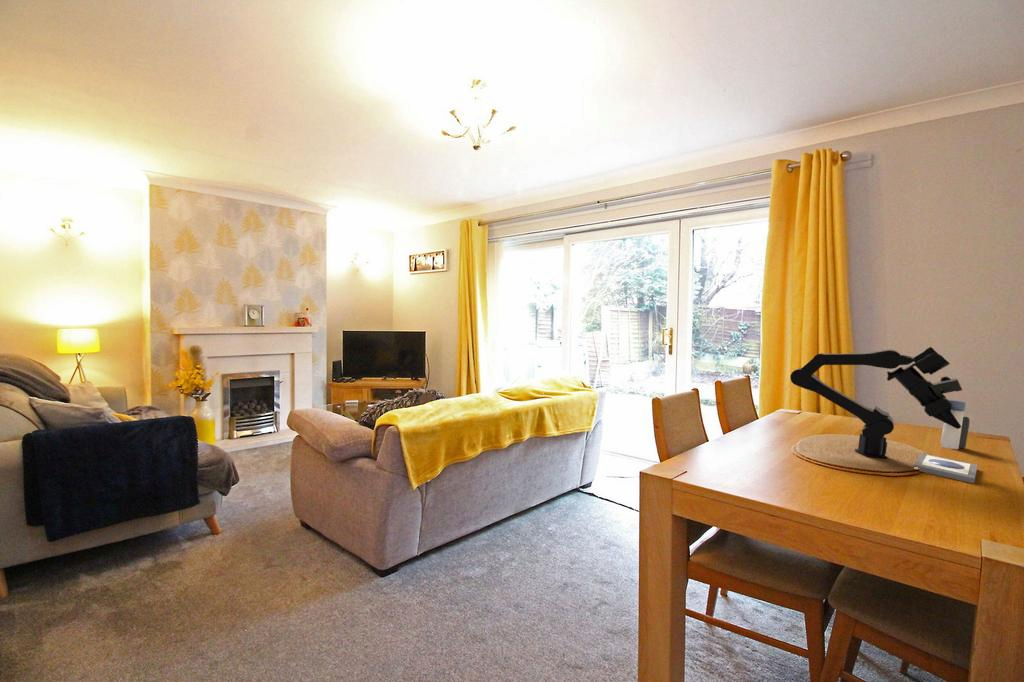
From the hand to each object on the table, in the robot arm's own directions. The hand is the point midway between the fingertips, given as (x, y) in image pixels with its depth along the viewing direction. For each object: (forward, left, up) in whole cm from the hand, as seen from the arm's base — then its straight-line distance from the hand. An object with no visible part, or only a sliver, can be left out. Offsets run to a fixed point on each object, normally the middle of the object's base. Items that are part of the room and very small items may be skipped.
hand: (958, 426), depth 141 cm
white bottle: (-1, +1, -7) cm, 7 cm away
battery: (+21, +28, -14) cm, 38 cm away
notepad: (-2, 0, -13) cm, 14 cm away
